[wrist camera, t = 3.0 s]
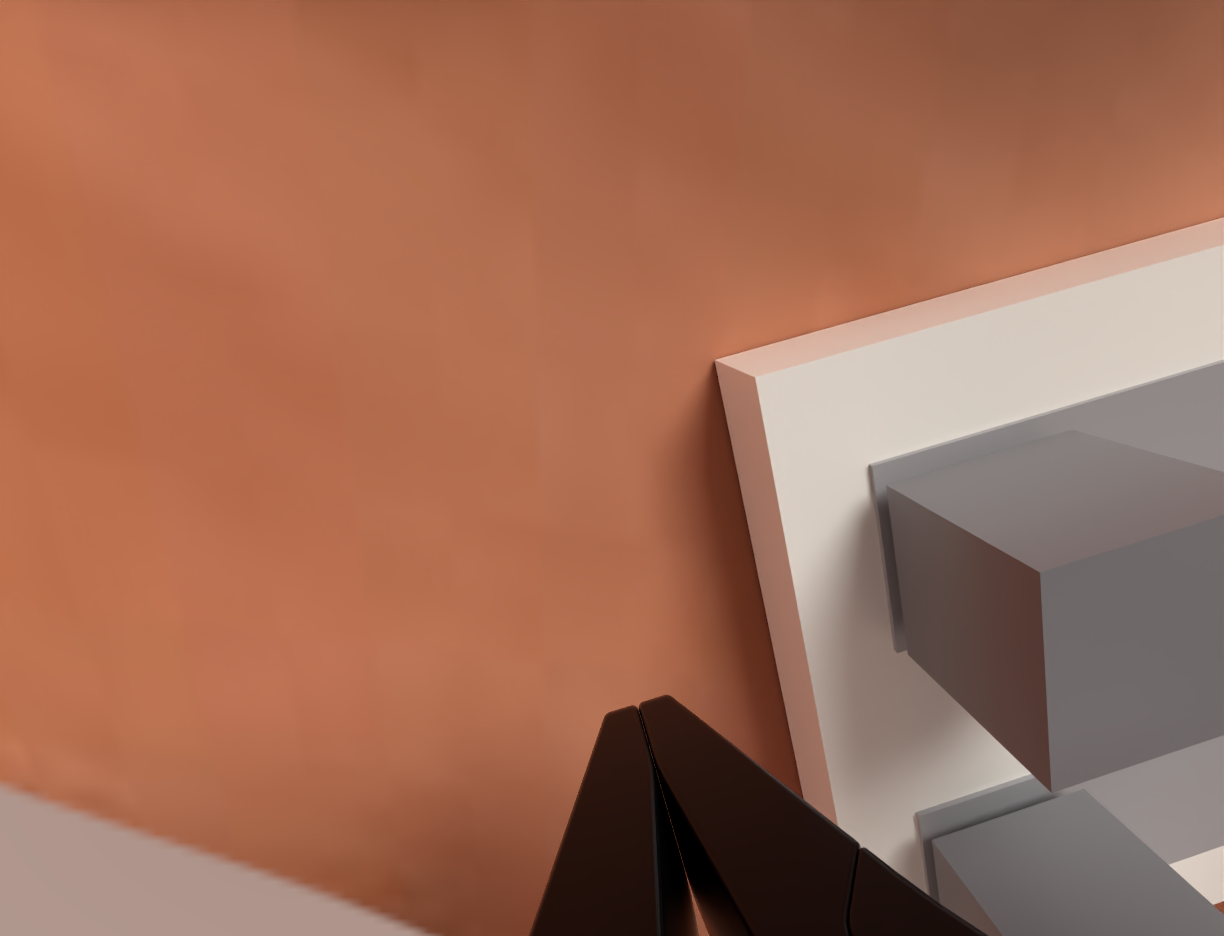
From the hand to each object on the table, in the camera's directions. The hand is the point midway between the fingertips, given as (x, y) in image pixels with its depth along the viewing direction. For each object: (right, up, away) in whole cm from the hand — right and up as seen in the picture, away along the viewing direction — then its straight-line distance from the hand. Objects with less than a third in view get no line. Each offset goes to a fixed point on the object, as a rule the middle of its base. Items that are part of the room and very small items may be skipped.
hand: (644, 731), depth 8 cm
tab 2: (+7, -4, +4) cm, 9 cm away
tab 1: (+5, +2, +2) cm, 6 cm away
